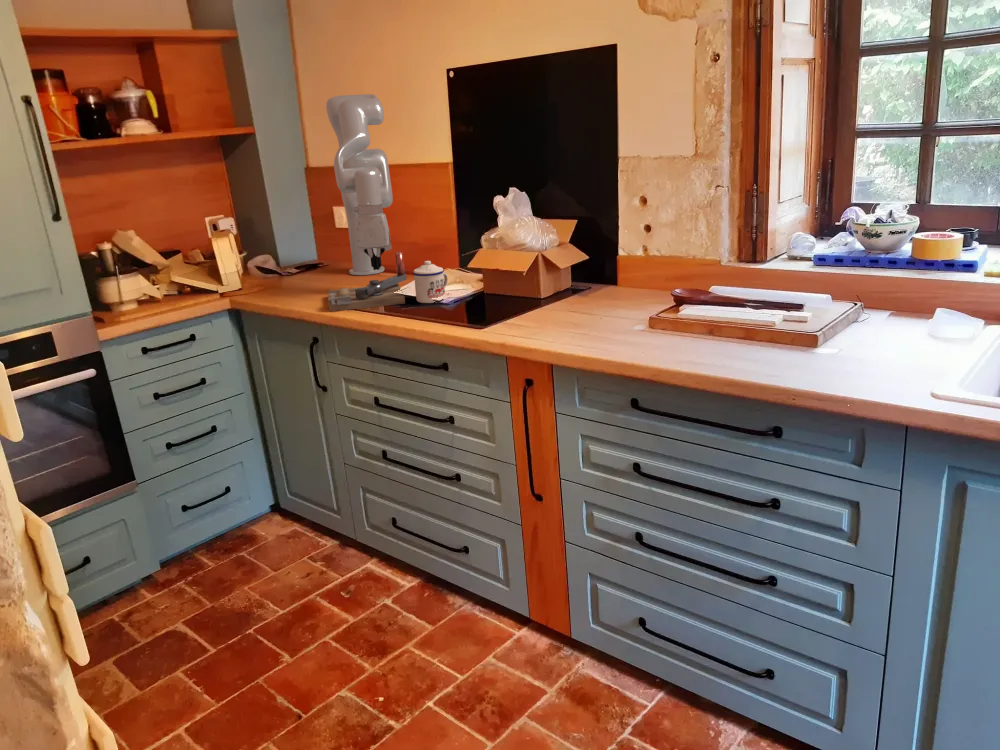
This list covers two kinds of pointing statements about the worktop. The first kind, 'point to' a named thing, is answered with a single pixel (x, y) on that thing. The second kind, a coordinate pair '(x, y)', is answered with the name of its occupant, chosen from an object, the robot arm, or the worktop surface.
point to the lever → (384, 283)
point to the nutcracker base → (371, 301)
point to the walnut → (342, 292)
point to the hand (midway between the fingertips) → (376, 268)
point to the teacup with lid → (429, 282)
